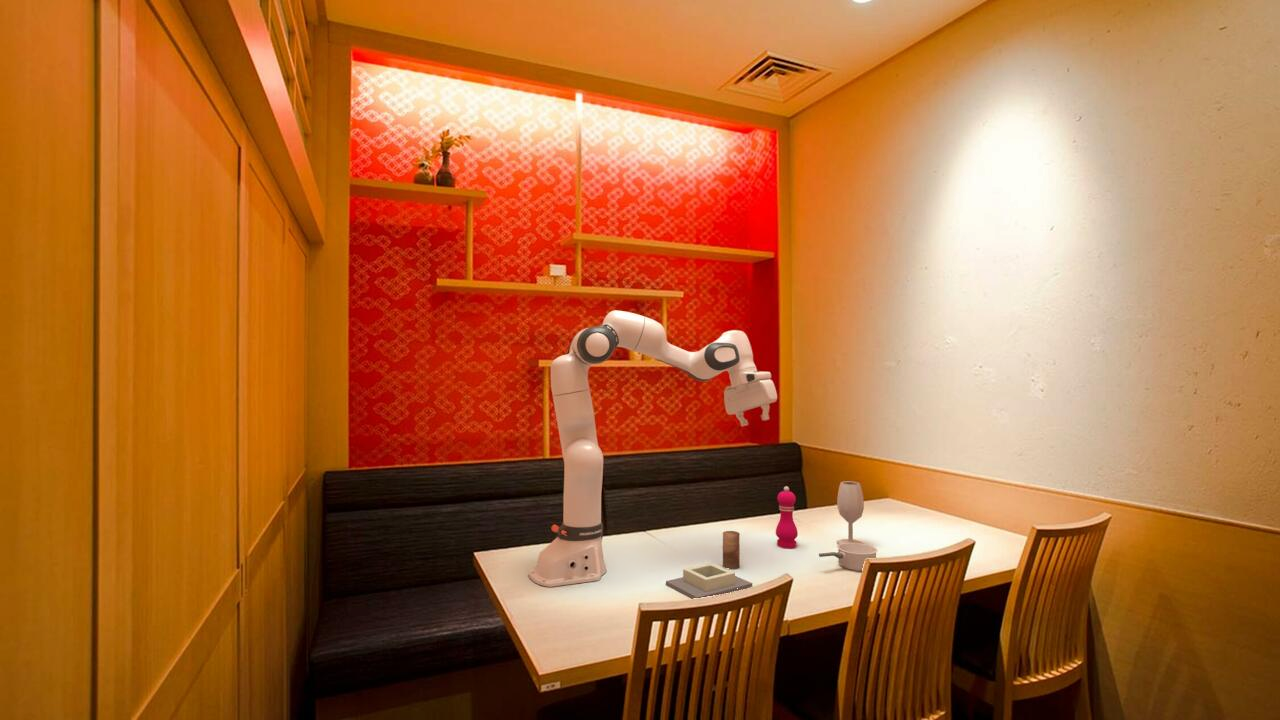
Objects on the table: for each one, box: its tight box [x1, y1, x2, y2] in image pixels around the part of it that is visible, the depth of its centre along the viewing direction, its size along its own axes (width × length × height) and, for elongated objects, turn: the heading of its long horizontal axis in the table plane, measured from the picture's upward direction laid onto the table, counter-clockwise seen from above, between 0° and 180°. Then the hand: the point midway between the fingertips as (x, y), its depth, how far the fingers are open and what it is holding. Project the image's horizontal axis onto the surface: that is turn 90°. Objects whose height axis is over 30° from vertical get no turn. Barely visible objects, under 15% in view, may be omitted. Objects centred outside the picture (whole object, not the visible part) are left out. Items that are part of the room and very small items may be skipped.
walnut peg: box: [722, 530, 741, 570], centre depth 178 cm, size 5×5×10 cm
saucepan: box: [818, 543, 878, 572], centre depth 177 cm, size 12×20×6 cm, turn 114°
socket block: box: [665, 562, 753, 600], centre depth 162 cm, size 19×14×4 cm
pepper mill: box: [775, 485, 799, 549], centre depth 200 cm, size 7×7×20 cm
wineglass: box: [836, 481, 865, 545], centre depth 201 cm, size 9×9×21 cm
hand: (755, 422), depth 185 cm, fingers open, 8 cm apart
